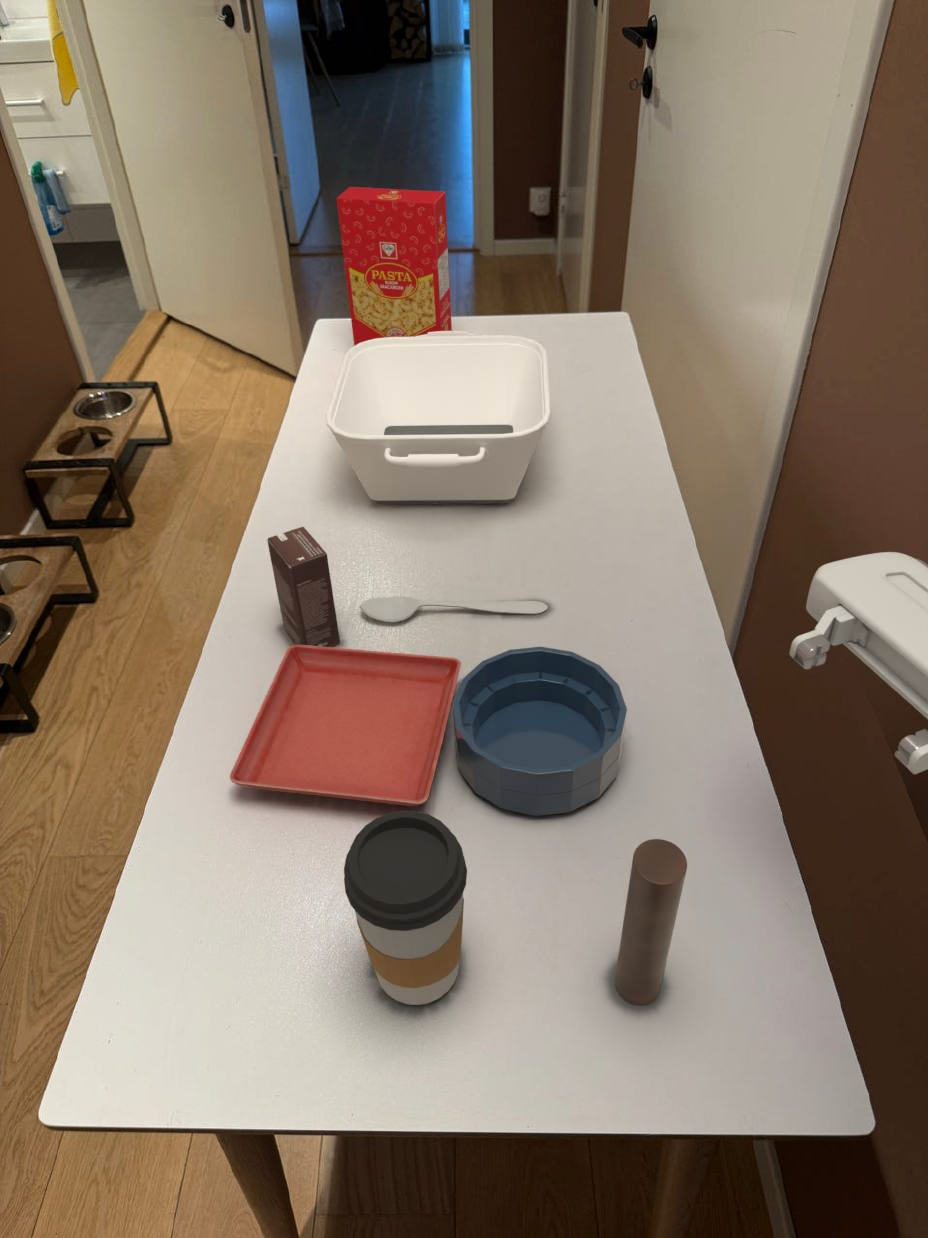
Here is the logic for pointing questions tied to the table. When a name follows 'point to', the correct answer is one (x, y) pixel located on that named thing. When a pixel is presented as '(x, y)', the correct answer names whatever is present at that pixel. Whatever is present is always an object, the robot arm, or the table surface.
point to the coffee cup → (409, 902)
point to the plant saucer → (350, 725)
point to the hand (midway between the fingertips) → (848, 703)
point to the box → (304, 588)
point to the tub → (441, 415)
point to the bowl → (539, 730)
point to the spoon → (406, 606)
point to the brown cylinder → (649, 919)
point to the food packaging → (395, 261)
